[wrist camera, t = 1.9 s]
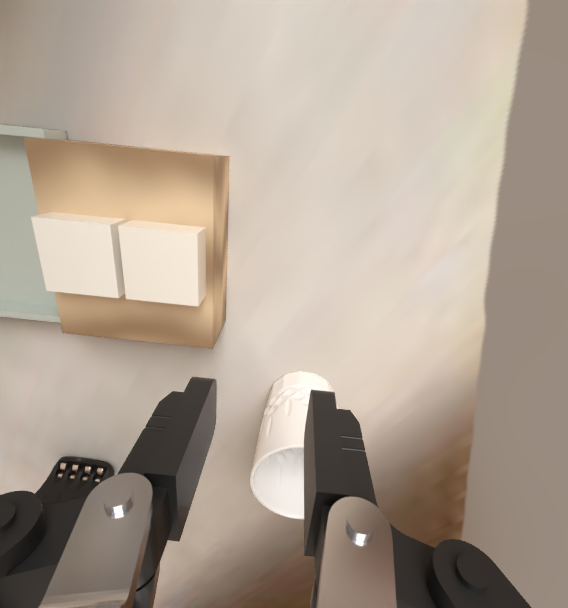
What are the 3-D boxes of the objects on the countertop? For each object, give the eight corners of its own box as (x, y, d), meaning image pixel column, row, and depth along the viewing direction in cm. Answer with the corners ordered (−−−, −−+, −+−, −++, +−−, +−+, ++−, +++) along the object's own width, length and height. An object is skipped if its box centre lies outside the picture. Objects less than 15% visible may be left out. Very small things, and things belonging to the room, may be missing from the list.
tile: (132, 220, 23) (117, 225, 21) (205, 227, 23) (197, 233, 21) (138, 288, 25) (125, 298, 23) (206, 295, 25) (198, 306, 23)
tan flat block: (73, 140, 26) (23, 137, 21) (229, 156, 26) (213, 155, 21) (97, 307, 31) (62, 332, 27) (225, 320, 31) (212, 348, 27)
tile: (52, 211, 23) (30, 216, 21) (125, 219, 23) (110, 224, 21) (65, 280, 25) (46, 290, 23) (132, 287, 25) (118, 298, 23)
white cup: (249, 405, 35) (230, 492, 26) (290, 351, 32) (286, 428, 23) (311, 438, 37) (314, 532, 27) (356, 390, 34) (376, 477, 25)
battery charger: (116, 456, 39) (48, 566, 29) (118, 479, 41) (54, 591, 30) (56, 448, 39) (-34, 555, 29) (60, 471, 41) (-23, 581, 30)
